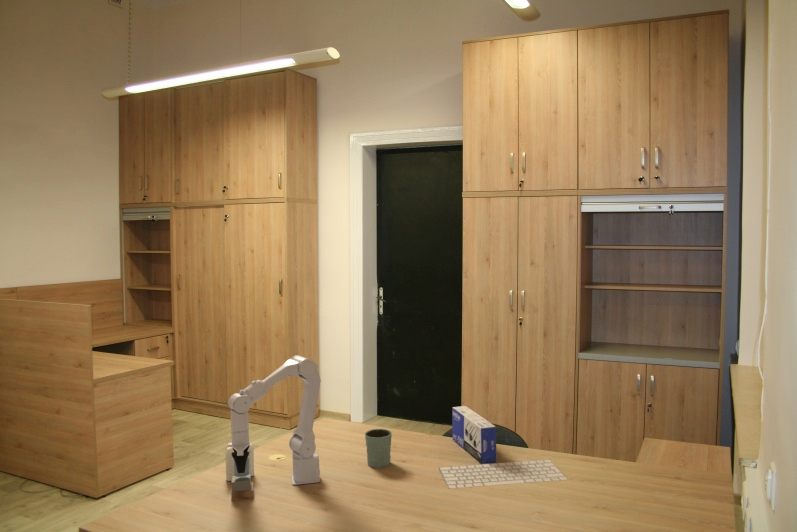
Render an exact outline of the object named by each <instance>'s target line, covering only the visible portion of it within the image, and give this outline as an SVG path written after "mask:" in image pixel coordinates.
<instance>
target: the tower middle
mask: <svg viewBox="0 0 797 532" xmlns="http://www.w3.org/2000/svg"><path fill="white" fill-rule="evenodd" d="M251 479H252V476H251V474H249V475H247V476H244V477H236V476H233V477H232V481H230V482H231V490H232V492H237V491H247V490H250V489H251V482H252V480H251Z"/></svg>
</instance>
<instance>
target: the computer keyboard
mask: <svg viewBox="0 0 797 532" xmlns="http://www.w3.org/2000/svg"><path fill="white" fill-rule="evenodd" d="M438 470H439V471H438V472H439V473H440V474H441V477H442V479H443V481H444V483H445V485H446V488H448V489H450V490H451V489H463V488H476V487H477V488H478V487H490V486H491V487H492V486H506V485H508V486H509V485H519V484H520V485H521V484H532V483H544V482H547V483H548V482H557V481H558V482H561V481H569V478H568V477H566V476H565V474H564V473H563V472H562V471H561V470H560V469H559V468H558V466H557V465H556V464H555V463H554V462H553V460H551V459H539V460H538V459H537V460H535V459H534V460H521V461H510V462H509V461H507V462H496V463H489V464H480V463H478V464H464V465H452V466H450V465H449V466H439V467H438Z"/></svg>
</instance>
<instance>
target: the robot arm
mask: <svg viewBox="0 0 797 532" xmlns="http://www.w3.org/2000/svg"><path fill="white" fill-rule="evenodd" d="M287 377H299V378H300V379H301V380H302V381H303V383H304V386H303V391H302V392H303V393H302V398H301V404H300V411H299V417H298V423H297V427H296V428H295V429H294V430H293V434H292V436H291V438H290V440H289V443H288V444H289V445H288V446H289V448H290V449H291V450H292V454H291V455H292V475H291V482H292V486H297V485H306V484H307V485H308V484H314V483H320V482H321V480H320V475H321V470H320V457H319V454H317V453H316V450H317V446H316V441H315V439H316V436H315V432H314V429H313V428H314V422H315V416H316V411H317V404H318V399H319V393H320V392H319V391H320V387H321V376H320V373H319V370H318V364H317V363H316V362H315V361H314V360H313V359H310V358H307V357H304V356H302V355H300V354H299V355H298V354H296V355H294V356H292V357H291V358H289V359H287V360H286V361H285V362H284V363H283V364H282V365H281V366H279V367H278V368H277V369H276V370H275V371H273V372H272V373H270V374H269V375H268V376H267V377H265V378H264V379H262V380H261V379H257V380H252V381H251V384H249V385H248V386H246V387H245V388H244V389H240V390H239V392H237V393H236V392H235V393H234V394H231V395H230V397H229V399H228V401H227V406H228V408H229V409H230V433H231V435H230V436H231V437H230V438H231V442H229V443H228V444H227V448H228V447H232V449H233V450H234V452H232V457H233V459H234V461H235V463H236V467H237V472H238V473H244V472H245V467H246V461H247V458H248V455H249V452H247V451H248V449H249V445H250V444H251V442H250V430H249V429H250V428H249V427H250V425H249V411H250V409H251V406H252V405H253V404H255V403H256V402H257V401H259V400H260V399H261V398H263V397H265V396H266V395H267V394H268V391H269V389H270V388H271V387H273V386H275V385H276V384H278V383H280V382H281V381H283V380H285V378H287Z"/></svg>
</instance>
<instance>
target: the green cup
mask: <svg viewBox="0 0 797 532" xmlns="http://www.w3.org/2000/svg"><path fill="white" fill-rule="evenodd" d="M392 433H393V432H392V431H391V430H389V429H387V428H375V429H369V430H367V431H366V432H365V433H364V437H365V446H366V460H367V462H366V463H367V465H368V467H370V468H374V469H381V468H382V469H383V468H386V467H388V466H390V465H391V445H392V435H393V434H392Z"/></svg>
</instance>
